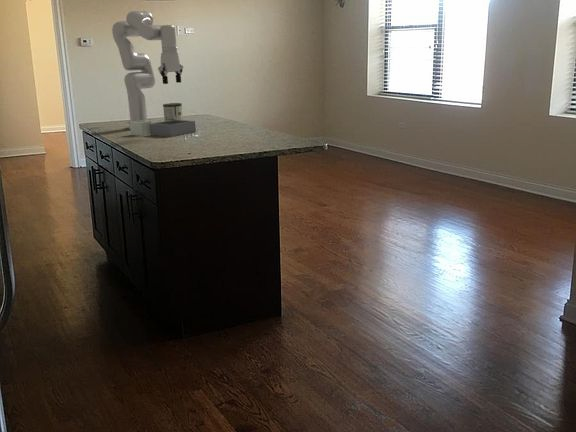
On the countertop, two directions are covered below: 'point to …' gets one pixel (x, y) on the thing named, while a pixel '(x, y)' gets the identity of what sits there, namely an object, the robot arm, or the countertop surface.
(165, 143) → the countertop surface
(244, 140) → the countertop surface
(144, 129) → the sage crate
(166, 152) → the countertop surface
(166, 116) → the coffee can
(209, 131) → the countertop surface
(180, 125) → the charcoal crate
